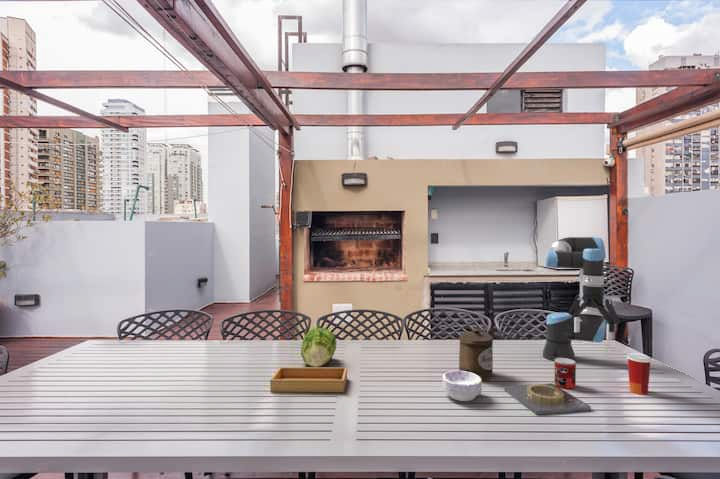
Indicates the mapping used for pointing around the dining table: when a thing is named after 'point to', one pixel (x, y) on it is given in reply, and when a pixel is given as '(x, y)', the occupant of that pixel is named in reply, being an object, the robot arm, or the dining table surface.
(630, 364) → the coffee cup
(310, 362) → the lettuce
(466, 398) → the paper bowls
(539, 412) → the collar plate
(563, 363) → the canned food
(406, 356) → the dining table surface
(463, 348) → the wooden container
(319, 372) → the tray
